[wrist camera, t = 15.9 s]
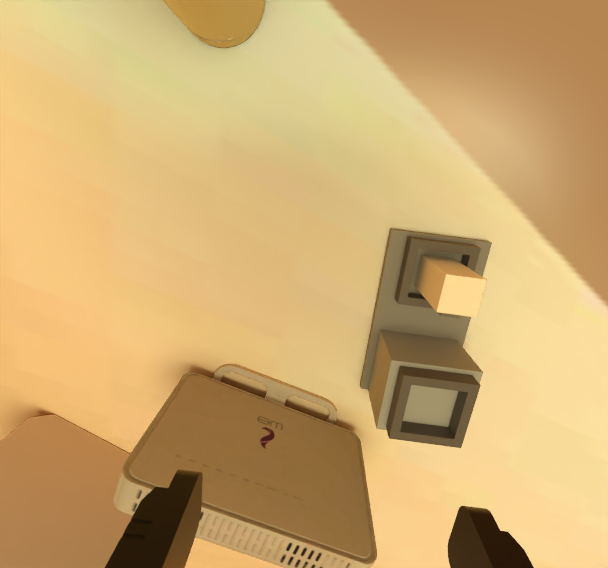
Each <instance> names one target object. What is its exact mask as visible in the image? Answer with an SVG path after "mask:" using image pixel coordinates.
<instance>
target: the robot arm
mask: <svg viewBox="0 0 608 568" xmlns="http://www.w3.org/2000/svg"><path fill="white" fill-rule="evenodd" d="M163 1H164V2H165V3H166V4H167V5H168V7H169V8H170V9H171V10H172V11H173V12H174V13H175V14H176V15H177V17H178V18H179V19H180V20H181V21H182V22H183V23H184V24H185V25H186V26H187V28H188V29H189V30H190V31H191V32H192V33H193V34H194V35H195V36H196V37H197V38H199V39H200V40H201V41H203V42H205V43H207V44H209V45H211V46H215V47H226V48H228V47H232V46H236V45H238V44H240V43H242V42H244V41H245V40H246V39H247V38H249V37H250V36H251V35H252V34H253V32H254V31H255V30H256V28H257V27H258V25H259V22H260V20H261V18H262V14H263V10H264V3H265V0H163ZM202 482H203V474H202V472H196V471H188V470H180V469H178V470H177V471H176V473H175V475H174V477H173V479H172V481H171V483H170V485H169V488H163V487H155V488H154V489H153V490H152V491H151V492H150V493H149V494H147V495H146V496H145V497H144V498H143V499H142V500H141V501H140V503H139V505H138V507H137V509H136V511H135V513H134V514H133V516H132V518H131V521H130V522H129V524H128V525H127V527H126V529H125V531H124V533H123V536H122V537H121V538H120V540H119V542H118V544H117V546H116V548H115V549H114V551H113V553H112V555H111V557H110V559H109V561H108V562H107V564H106V566H105V568H185V565H186V562H187V559H188V556H189V553H190V550H191V547H192V544H193V541H194V538H195V535H196V532H197V529H198V525H199V521H200V516H201V507H202ZM448 557H449V563H450V567H451V568H534V567H533V566H532V564H531V562H530V560H529V558H528V556H527V554H526V553H525V551H524V549H523V548H522V547H521V546H520V545H519V544H518V543H517V542H516V540H515V539H514V538H513V537H512V536H511V535H510V534H509V533H508V532H505V531H500V529H499V528H498V526H497V524H496V522H495V520H494V518H493V516H492V514H491V512H490V511H489V510H487V509H483V508H475V507H467V506H461V507H460V508H459V510H458V513H457V517H456V520H455V523H454V526H453V529H452V532H451V535H450V538H449V542H448Z"/></svg>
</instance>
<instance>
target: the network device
mask: <svg viewBox="0 0 608 568" xmlns="http://www.w3.org/2000/svg"><path fill="white" fill-rule="evenodd" d="M225 372H234V373H237V374H239V375H242V376H245V377H247V378H250V379H252V380H255V381H258V382H260V383H263V384H264V385H265V386H266V387H267V392H266V395H265V397H264V398H262V397H260V396H257V395H254V394H252V393H249V392H246V391H244V390H241V389H238V388H236V387H233V386H231V385H228V384H225V383H223V382H220V381H221V378H222V376H223V374H224V373H225ZM290 396H297V397H300V398H302V399H305V400H308V401H310V402H313V403H316V404H318V405H321V406H323V407H326V408H327V409H328V410H329V412H330V413H329V415H328V417H327V419H326V421H323V420H321V419H318V418H315V417H313V416H310V415H307V414H305V413H302V412H299V411H297V410H294V409H292V408H289V407H286V406H284V405H285V401H286V399H287V398H288V397H290ZM336 421H337V410H336V408H335V406H334V404H333V403H332V402H331V401H329V400H328V399H326V398H323V397H321V396H318V395H315V394H313V393H310V392H308V391H305V390H302V389H300V388H297V387H294V386H292V385H289V384H287V383H284V382H281V381H279V380H276V379H274V378H271V377H268V376H266V375H263V374H260V373H258V372H255V371H253V370H250V369H247V368H245V367H242V366H240V365H236V364H226V365H223V366H221V367H219V368H218V369H217V370H216V371H215V373H214V375H213V377H212V378H209V377H207V376H204V375H201V374H199V373H194V372H191V373H186V374H185V375H184V376H183V377H182V379H181V380H180V382H179V383H178V384H177V386H176V387H175V389H174V390H173V392H172V393H171V395H170V396H169V398H168V399H167V401H166V402H165V404H164V405H163V407H162V408H161V409H160V411H159V412H158V414H157V415H156V417H155V418H154V420H153V421H152V423H151V424H150V426H149V427H148V429H147V430H146V432H145V433H144V435H143V436H142V437H141V439H140V440H139V442H138V443H137V445H136V446H135V448H134V449H133V451H132V452H131V454H130V455H129V457H128V458H127V460H126V461H125V463H124V464H123V467H122V470H121V473H120V477H119V480H118V483H117V486H116V489H115V492H114V496H113V502H114V505H115V507H116V508H117V509H118V510H119V511H121V512H124V513H126V514H129V515H132V516H133V514H134V513H135V511H136V509H137V507H138V505H139V503H140V501H141V500H142V499H143V498H144V497H145V496H146V495H147V494H149V493H150V492H151V491H152V490H153V489H154V488H155V487H163V488H169V485H170V483H171V481H172V479H173V477H174V475H175V473H176V471H177V470H178V469H180V470H188V471H196V472H202V474H203V482H202V507H201V516H200V521H199V525H198V529H197V532H196V535H195V537H197V538H199V539H202V540H205V541H208V542H211V543H214V544H217V545H220V546H223V547H226V548H229V549H232V550H234V551H237V552H240V553H243V554H246V555H249V556H252V557H255V558H258V559H261V560H264V561H267V562H269V563H272V564H275V565H278V566H281V567H284V568H371V566H372V565H373V563H374V562H375V560H376V558H377V549H376V542H375V536H374V529H373V522H372V515H371V509H370V502H369V495H368V488H367V482H366V475H365V468H364V461H363V455H362V448H361V442H360V439H359V438H358V436H357V435H356V434H355V433H353V432H352V431H350V430H347V429H345V428H342V427H339V426H337V425H335V423H336Z"/></svg>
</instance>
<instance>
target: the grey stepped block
mask: <svg viewBox="0 0 608 568" xmlns="http://www.w3.org/2000/svg"><path fill="white" fill-rule="evenodd" d="M491 244H492V243H491V242H489V241H482V240H475V239H467V238H459V237H452V236H444V235H436V234H428V233H421V232H413V231H405V230H398V229H390V233H389V238H388V243H387V248H386V253H385V259H384V264H383V269H382V274H381V279H380V284H379V289H378V295H377V300H376V305H375V310H374V315H373V320H372V326H371V331H370V336H369V341H368V346H367V351H366V356H365V362H364V367H363V372H362V377H361V382H360V387H361V388H362V389H368V391H369V396H370V401H371V405H372V410H373V414H374V419H375V423H376V428H377V429H383V430H387V432H388V436H389V438H390V439H398V440H405V441H413V442H420V443H428V444H435V445H443V446H450V447H458V448H461V446H462V443H463V440H464V437H465V433H466V430H467V427H468V424H469V420H470V417H471V414H472V411H473V407H474V404H475V401H476V398H477V395H478V391H479V388H480V384H479V383H480V380H481V377H482V374H483V372H482V371H481V369H480V368H479V367H478V366H477V364H476V363H475V362H474V361H473V359H472V358H471V357H470V356H469V355H468V353H467V352H466V351H465V350H464V348H463V343H464V340H465V336H466V332H467V329H468V325H469V322H470V318H471V317H469V316H461V315H460V318H452V317H445V316H440V315H439V314H438V312H436V311H435V310H434V308H433V307H432V306H431V305H430V304H429V303H428V301H427V300H426V299H425V298H424V297H423V295H422V294H421V293H420V292H419V291H418V289H417V288H416V287H415V286H414V285H415V281H416V277H417V272H418V268H419V263H420V259H421V255H429V256H436V257H444V258H451V259H455V260H457V261H458V262H460V263H461V264H463V265H465V266H466V267H468V268H469V269H471V270H472V271H474V272H476V273H477V274H479V275H480V276H483V272H484V269H485V265H486V261H487V258H488V254H489V251H490V247H491Z"/></svg>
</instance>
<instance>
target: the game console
mask: <svg viewBox="0 0 608 568" xmlns="http://www.w3.org/2000/svg"><path fill="white" fill-rule="evenodd" d="M129 455H130V454H129V453H127V452H125V451H123V450H122V449H120V448H118V447H116V446H114V445H112V444H110V443H108V442H106V441H104V440H102V439H101V438H99V437H97V436H95V435H93V434H91V433H89V432H87V431H85V430H83V429H82V428H80V427H78V426H76V425H74V424H72V423H70V422H68V421H66V420H64V419H62V418H61V417H59V416H57V415H55V414H53V415H45V416H37V417H30V418H28V419H27V420H25V421H24V422H23V423H22V424H21V425H20V426H18V427H17V428H16V429H15V430H14V431H12V432H11V433H10V434H9V435H8V436H6V437H5V438H4V439H3V440H2V441H0V568H105V566H106V564H107V562H108V561H109V559H110V557H111V555H112V553H113V551H114V549H115V548H116V546H117V544H118V542H119V540H120V538H121V537H122V536H123V533H124V531H125V529H126V527H127V525H128V524H129V522H130V521H131V518H132V515H129V514H126V513H124V512H121V511H119V510H118V509H117V508H116V507H115V505H114V502H113V496H114V492H115V489H116V486H117V483H118V480H119V477H120V473H121V470H122V467H123V464H124V463H125V461H126V460H127V458H128V457H129Z"/></svg>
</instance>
